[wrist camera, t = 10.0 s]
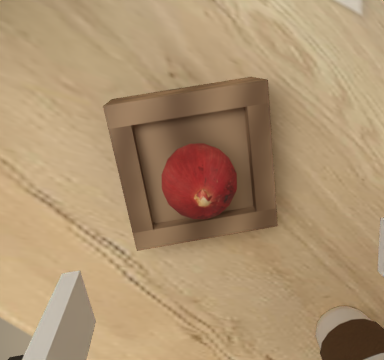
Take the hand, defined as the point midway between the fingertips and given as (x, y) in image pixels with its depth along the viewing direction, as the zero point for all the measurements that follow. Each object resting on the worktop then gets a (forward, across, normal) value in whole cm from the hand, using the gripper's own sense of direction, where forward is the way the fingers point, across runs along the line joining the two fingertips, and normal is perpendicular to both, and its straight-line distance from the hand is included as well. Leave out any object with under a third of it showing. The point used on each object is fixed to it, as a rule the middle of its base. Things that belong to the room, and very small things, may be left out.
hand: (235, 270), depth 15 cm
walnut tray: (+20, 0, 0) cm, 20 cm away
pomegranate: (+16, 0, 0) cm, 16 cm away
